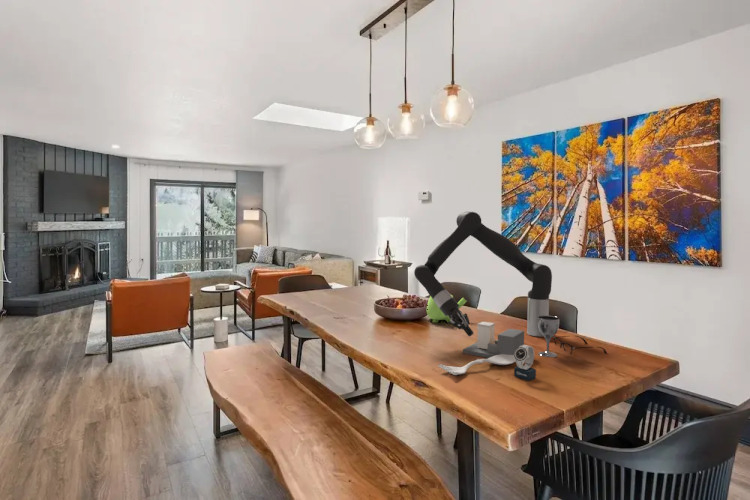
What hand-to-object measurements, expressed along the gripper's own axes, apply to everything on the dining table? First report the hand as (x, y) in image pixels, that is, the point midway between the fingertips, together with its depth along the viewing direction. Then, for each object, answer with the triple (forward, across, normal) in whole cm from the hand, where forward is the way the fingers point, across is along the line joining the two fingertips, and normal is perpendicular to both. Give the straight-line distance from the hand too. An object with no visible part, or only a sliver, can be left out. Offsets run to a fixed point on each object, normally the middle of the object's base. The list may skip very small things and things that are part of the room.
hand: (471, 334), depth 178 cm
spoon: (+14, -20, -5) cm, 25 cm away
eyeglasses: (+30, +28, -20) cm, 45 cm away
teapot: (-20, +40, +29) cm, 53 cm away
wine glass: (+24, +11, -15) cm, 30 cm away
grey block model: (+11, 0, -3) cm, 11 cm away
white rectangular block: (+7, 0, -2) cm, 8 cm away
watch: (+25, -19, -16) cm, 35 cm away
